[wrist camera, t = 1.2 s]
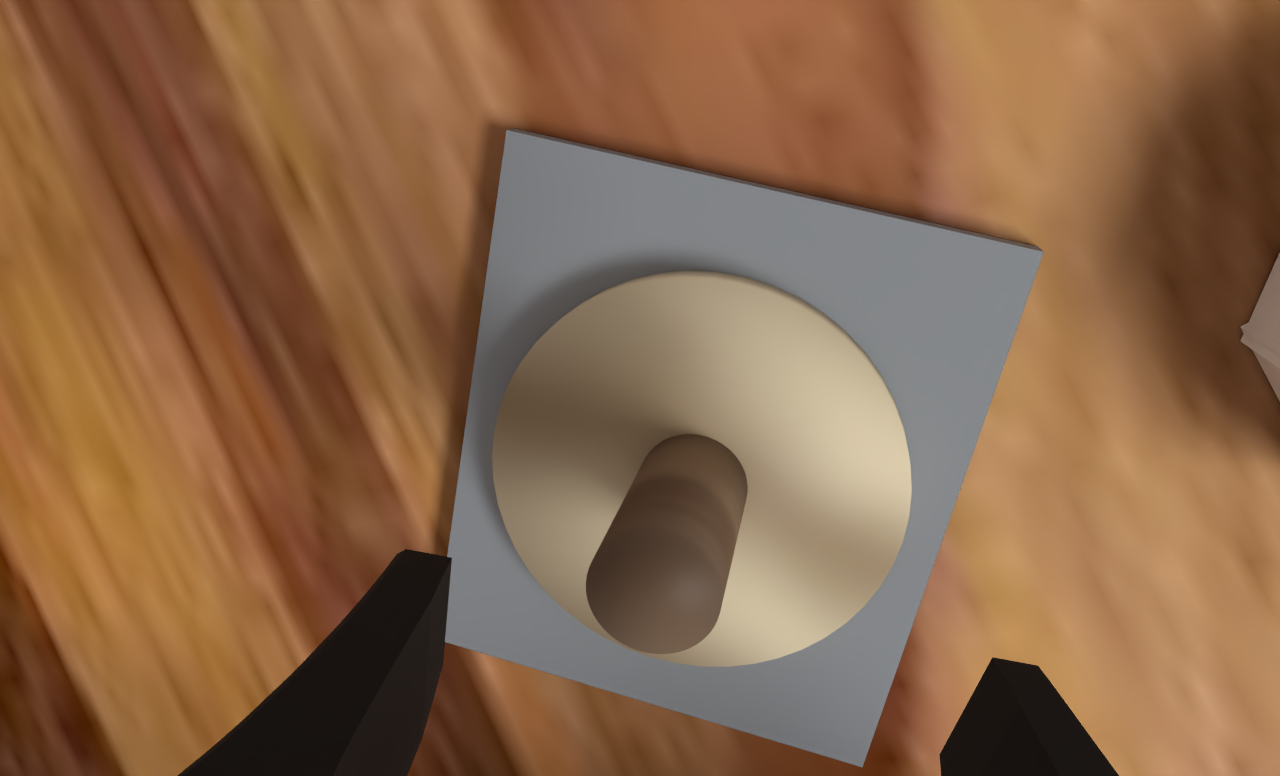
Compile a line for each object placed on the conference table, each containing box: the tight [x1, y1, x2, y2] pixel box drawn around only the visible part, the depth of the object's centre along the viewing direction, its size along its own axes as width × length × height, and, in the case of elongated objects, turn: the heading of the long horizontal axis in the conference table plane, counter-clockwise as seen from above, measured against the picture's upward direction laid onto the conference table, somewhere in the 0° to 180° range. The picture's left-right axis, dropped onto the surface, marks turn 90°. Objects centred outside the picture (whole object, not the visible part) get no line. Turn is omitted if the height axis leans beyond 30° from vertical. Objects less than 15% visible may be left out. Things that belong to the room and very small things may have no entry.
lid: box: [492, 270, 912, 667], centre depth 21 cm, size 10×10×6 cm
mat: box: [445, 129, 1044, 767], centre depth 23 cm, size 14×12×1 cm
